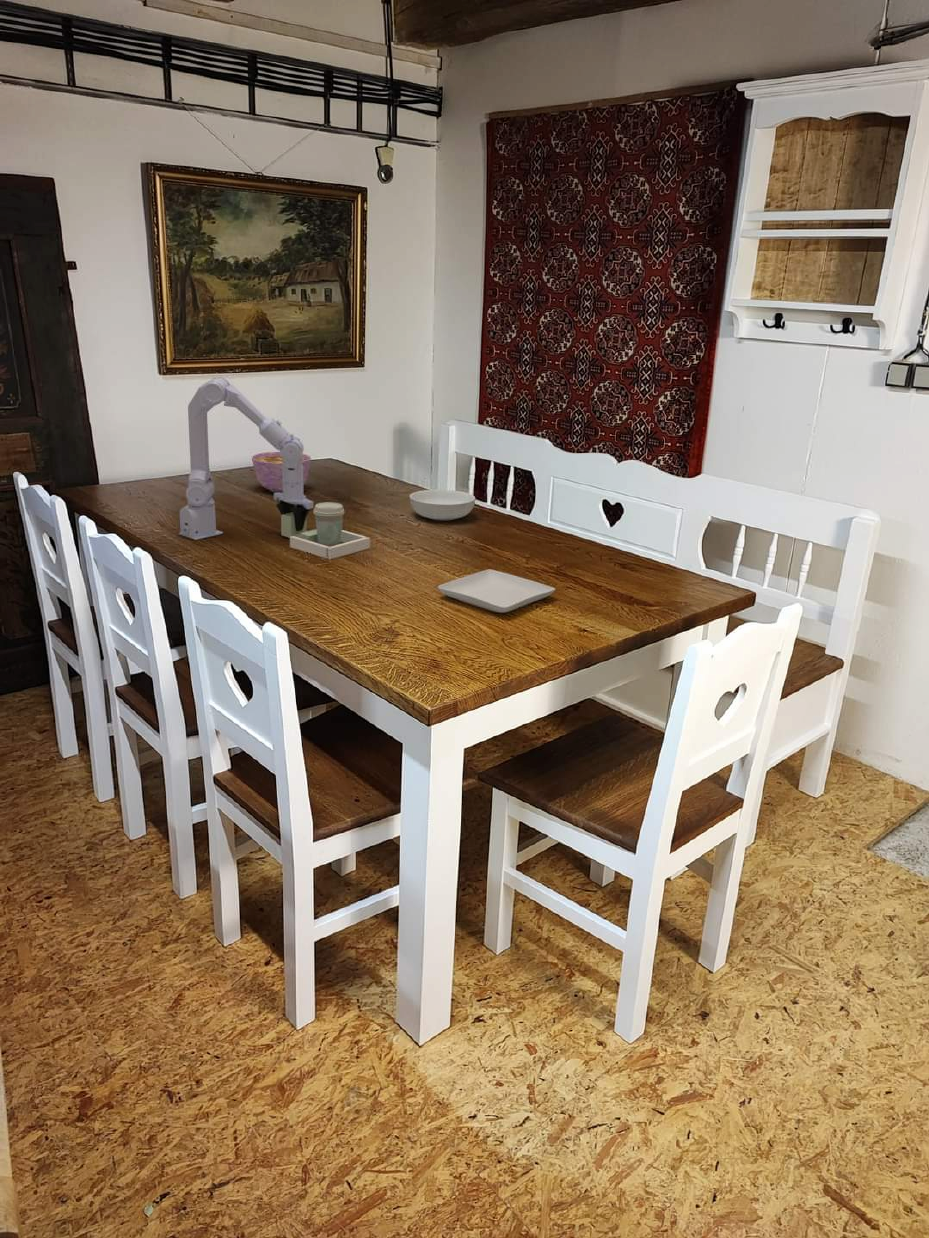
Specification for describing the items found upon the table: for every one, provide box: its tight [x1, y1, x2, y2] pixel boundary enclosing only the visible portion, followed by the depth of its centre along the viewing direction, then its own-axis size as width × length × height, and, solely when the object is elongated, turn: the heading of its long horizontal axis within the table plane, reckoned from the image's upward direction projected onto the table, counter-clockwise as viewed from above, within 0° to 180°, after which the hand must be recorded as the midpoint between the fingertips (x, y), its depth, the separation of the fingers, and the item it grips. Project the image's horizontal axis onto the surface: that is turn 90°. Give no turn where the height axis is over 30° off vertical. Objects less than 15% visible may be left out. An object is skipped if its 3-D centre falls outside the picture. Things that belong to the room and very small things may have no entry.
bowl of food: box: [251, 451, 312, 494], centre depth 311 cm, size 20×20×12 cm
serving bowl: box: [409, 489, 476, 522], centre depth 288 cm, size 21×21×7 cm
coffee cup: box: [312, 501, 345, 547], centre depth 251 cm, size 8×9×12 cm
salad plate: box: [437, 569, 556, 614], centre depth 219 cm, size 21×21×3 cm
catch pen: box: [289, 529, 371, 560], centre depth 252 cm, size 15×16×3 cm
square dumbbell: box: [280, 512, 318, 543], centre depth 257 cm, size 8×13×6 cm, turn 51°
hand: (294, 528), depth 260 cm, fingers closed on square dumbbell, 4 cm apart
